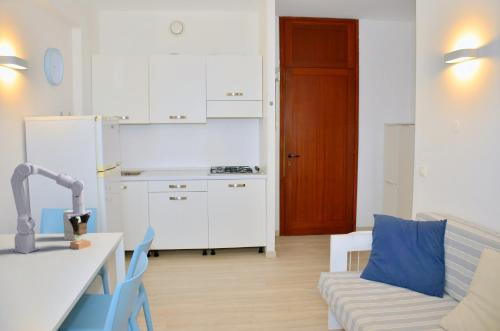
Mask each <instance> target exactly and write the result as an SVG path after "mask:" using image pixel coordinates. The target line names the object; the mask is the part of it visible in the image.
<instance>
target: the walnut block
mask: <svg viewBox="0 0 500 331" xmlns="http://www.w3.org/2000/svg"><path fill="white" fill-rule="evenodd" d="M87 228H88V227H87V225H86V223H83V222H78V231H77V232H76V231H74V230H73V234H74V235H79V236H80V235H81V236H82V235H83V236H84V235H86V234H88V229H87Z"/></svg>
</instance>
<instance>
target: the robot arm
mask: <svg viewBox="0 0 500 331" xmlns="http://www.w3.org/2000/svg"><path fill="white" fill-rule="evenodd" d="M30 175H31V176H32V175H33V176H34V175H39V176H40V175H41V176H44V177H46V178H49V179H52V180H54V181H55V182H56V184H57V185H59V186H61V187H64V188H66V189H70V190H71V192H72V193H71V194H72V195H71V201H72V202H71V203H72V204H71V205H72V210H73V213H70V214H68V215H66V219H68V220H69V221H70V223H71V225H72V227H73V230H74V231H76V232H77V231H78V220H79V219H78V218H76V217H78V216H80V221H81V222H83V223H86V225H87V224H88V222H89V219H90V218H91V216H90V215H92V211H93V210H92V209H86V210H85V208H86V206H85V203H86V202H85V191H84V188H85V183H84V181H83V180H81V179H77V177H74V178H73V177H71V176H70V175H68V173H60V174H59V173H56V172H55V171H52V170H50V169H48V168H46V167H43V166H42V165H39V164H37V163H33V162H32V161H25V162H23V163H20V164H19V165H17V166H16V167H15V168H14V171H13V173H12V175H11V178H10V186H11V190H12V194H13V199H14V204H15V208H16V213H17V220H16V221H17V225H16V231H17V233H16V234H15V235H14V239H13V240H14V249H13V251H14V252H16V253H21V254H28V253H30V252H31V253H32V252H35V251H38V250H40V248H39V247H36V235H35V234H36V232H35V229H34V228H35V226H36V221H35V220H34V219H33V217H32V214H31V213H30V209H29V205H28V201H27V196H26V191H25V187H24V182H25V180H26V179H27V177H29V176H30Z"/></svg>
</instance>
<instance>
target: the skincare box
mask: <svg viewBox="0 0 500 331" xmlns="http://www.w3.org/2000/svg"><path fill="white" fill-rule="evenodd" d="M70 213H73V209H68V210H67V209H66V210H65V211H63V212H62V217H63V234H64V239H63V240H64V241H77V240H79V238H81V237H82V235H80V236H79V235H74V234H73V227H72V225H71V223H70V221H69V220H68V219H66V215H68V214H70ZM76 218H78V219H79V220H78V222H81V219H80V216H78V217H76Z"/></svg>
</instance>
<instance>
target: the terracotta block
mask: <svg viewBox="0 0 500 331" xmlns="http://www.w3.org/2000/svg"><path fill="white" fill-rule="evenodd" d="M69 246H70V248H71V249H76V250H82V249H85V248H86V249H87V248H89V247H92V245H91V240H87V239H83V238H81V239H76V240H72V241H71V242H69Z"/></svg>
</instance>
